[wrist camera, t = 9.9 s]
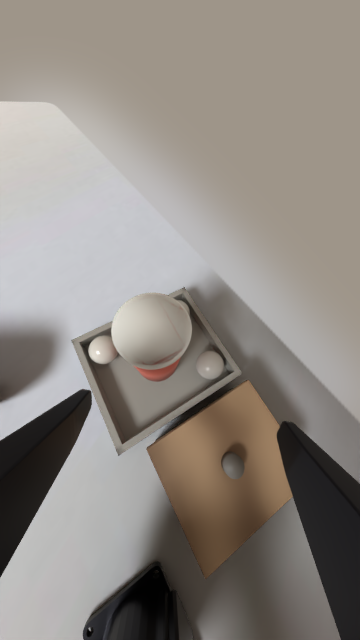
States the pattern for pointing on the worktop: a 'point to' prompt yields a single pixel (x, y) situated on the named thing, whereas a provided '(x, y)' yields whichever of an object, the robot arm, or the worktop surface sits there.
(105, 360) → the pebble
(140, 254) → the worktop surface
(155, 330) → the scoop cup
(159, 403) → the tray
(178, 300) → the white glossy ball
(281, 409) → the worktop surface
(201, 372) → the shiny white sphere
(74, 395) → the robot arm
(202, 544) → the lidded box
